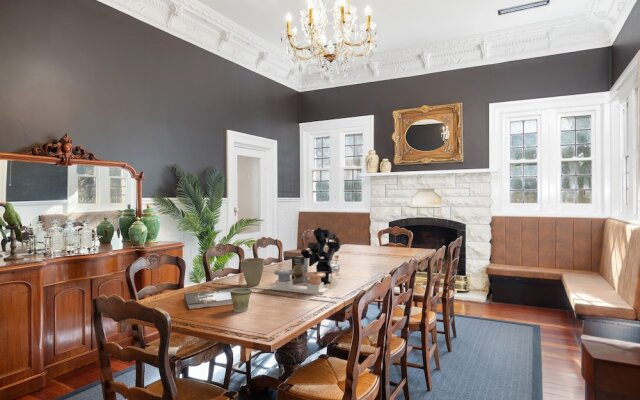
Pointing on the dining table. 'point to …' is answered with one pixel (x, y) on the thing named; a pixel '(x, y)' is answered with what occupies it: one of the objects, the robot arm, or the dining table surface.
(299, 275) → the coffee box
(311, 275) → the brown round domed piece
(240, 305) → the ceramic cup
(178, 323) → the dining table surface
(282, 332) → the dining table surface
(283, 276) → the two dot key
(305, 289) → the key console
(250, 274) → the plant pot
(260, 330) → the dining table surface
